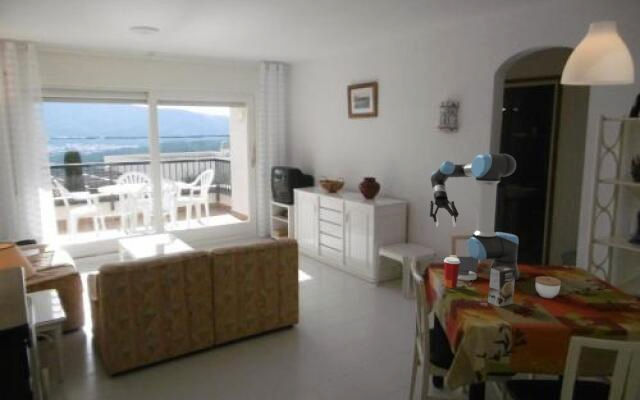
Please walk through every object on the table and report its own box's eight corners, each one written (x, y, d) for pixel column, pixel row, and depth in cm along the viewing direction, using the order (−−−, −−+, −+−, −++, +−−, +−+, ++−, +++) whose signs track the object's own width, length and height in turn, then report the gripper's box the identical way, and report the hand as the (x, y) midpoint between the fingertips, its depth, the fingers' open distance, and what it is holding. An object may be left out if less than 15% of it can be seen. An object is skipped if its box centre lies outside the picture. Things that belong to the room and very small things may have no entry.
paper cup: (457, 284, 226) (458, 257, 224) (460, 289, 219) (462, 261, 216) (441, 283, 227) (442, 256, 225) (443, 288, 219) (445, 260, 217)
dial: (474, 271, 241) (475, 254, 239) (478, 275, 235) (479, 257, 233) (448, 271, 241) (449, 254, 239) (451, 274, 235) (452, 257, 233)
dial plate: (480, 276, 239) (481, 272, 239) (470, 282, 228) (470, 279, 228) (455, 270, 248) (456, 267, 248) (444, 276, 237) (444, 273, 237)
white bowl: (536, 290, 219) (538, 271, 218) (561, 295, 213) (562, 276, 212) (531, 296, 210) (533, 277, 209) (557, 301, 204) (559, 282, 203)
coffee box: (499, 307, 197) (501, 271, 195) (487, 302, 203) (490, 267, 200) (513, 303, 201) (516, 269, 199) (501, 298, 207) (504, 265, 204)
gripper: (456, 198, 269) (463, 230, 256) (420, 197, 269) (425, 229, 256) (459, 190, 263) (467, 223, 250) (423, 190, 263) (428, 222, 250)
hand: (446, 226), depth 253 cm, fingers open, 9 cm apart
